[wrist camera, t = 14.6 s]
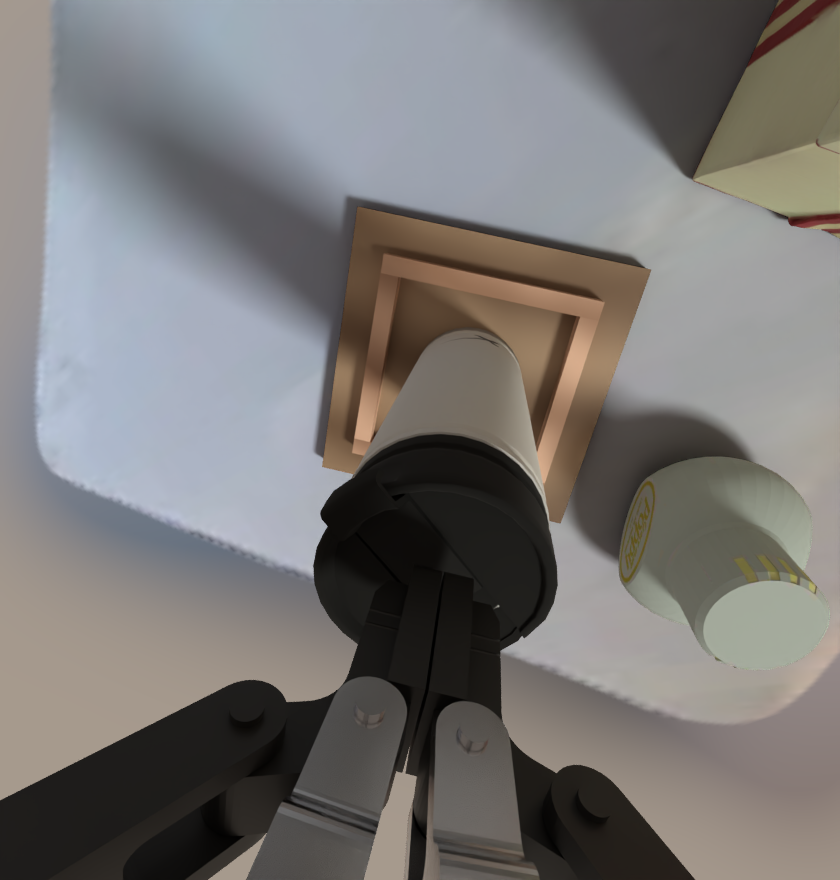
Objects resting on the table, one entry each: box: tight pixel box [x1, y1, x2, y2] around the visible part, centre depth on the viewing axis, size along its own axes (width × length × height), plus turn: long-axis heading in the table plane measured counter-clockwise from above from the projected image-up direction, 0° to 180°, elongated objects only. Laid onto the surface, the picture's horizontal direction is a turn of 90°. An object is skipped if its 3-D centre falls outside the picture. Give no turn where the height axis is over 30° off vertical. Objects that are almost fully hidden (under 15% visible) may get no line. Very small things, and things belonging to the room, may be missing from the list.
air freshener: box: [619, 457, 830, 670], centre depth 29 cm, size 11×8×10 cm
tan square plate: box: [322, 207, 651, 523], centre depth 31 cm, size 16×16×2 cm
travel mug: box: [313, 327, 558, 651], centre depth 22 cm, size 6×7×20 cm
